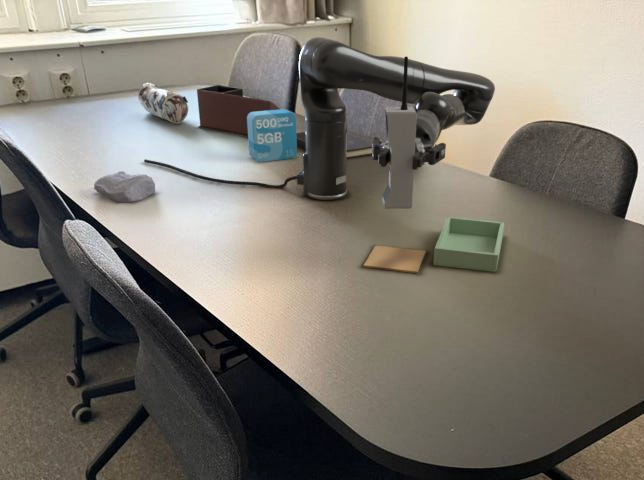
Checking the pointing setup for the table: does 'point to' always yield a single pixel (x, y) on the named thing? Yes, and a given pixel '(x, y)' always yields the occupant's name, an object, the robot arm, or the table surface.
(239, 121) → the desk organizer
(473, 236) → the tray
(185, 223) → the table surface
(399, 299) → the table surface
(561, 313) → the table surface
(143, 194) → the stone block
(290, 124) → the data package
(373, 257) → the cork pad
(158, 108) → the pencil case
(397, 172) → the vintage mobile phone
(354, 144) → the hardcover book
